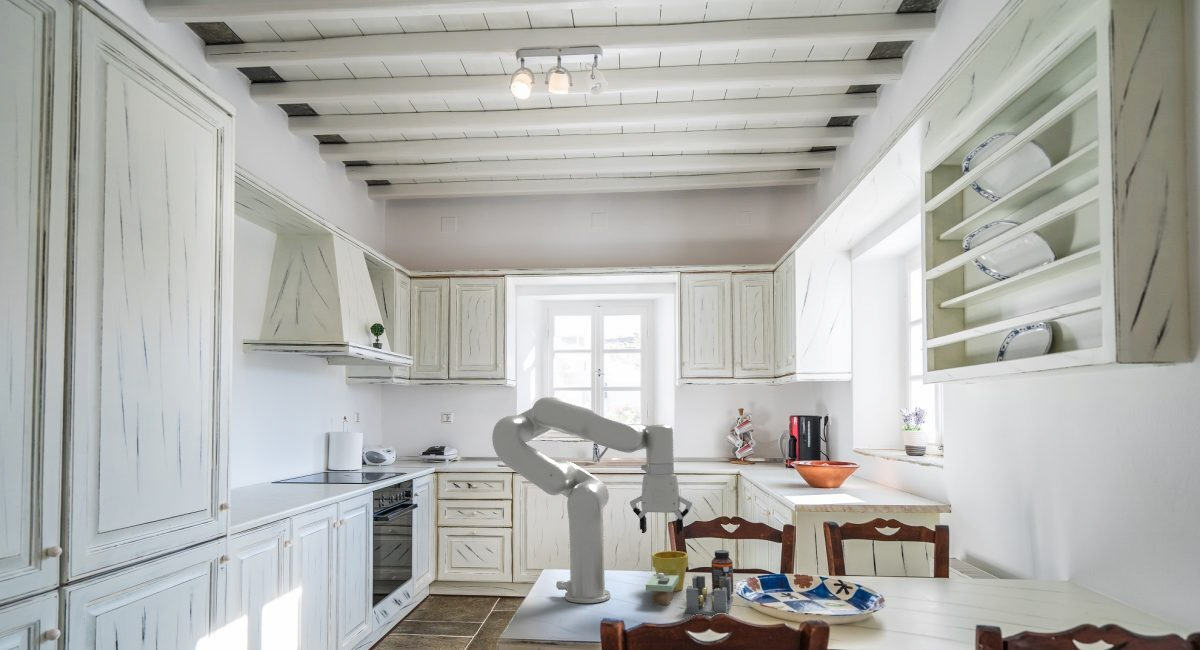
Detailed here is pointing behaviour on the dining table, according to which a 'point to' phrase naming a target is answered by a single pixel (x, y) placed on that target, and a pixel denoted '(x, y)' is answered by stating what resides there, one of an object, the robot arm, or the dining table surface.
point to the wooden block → (662, 597)
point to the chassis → (708, 597)
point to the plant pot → (671, 565)
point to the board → (662, 582)
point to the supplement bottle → (721, 568)
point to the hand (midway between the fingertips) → (661, 532)
